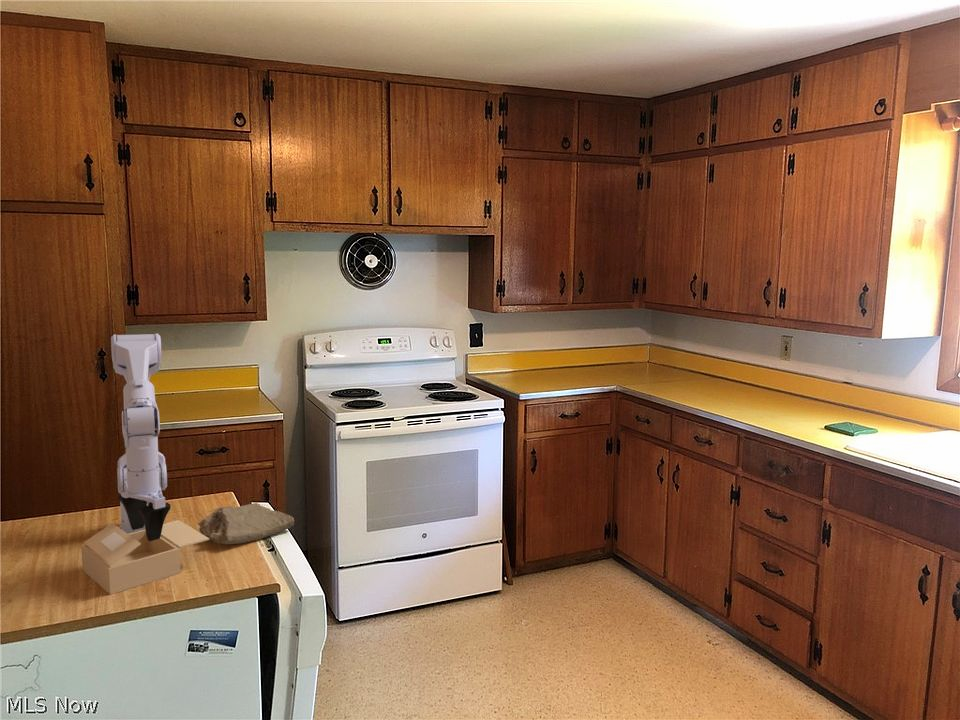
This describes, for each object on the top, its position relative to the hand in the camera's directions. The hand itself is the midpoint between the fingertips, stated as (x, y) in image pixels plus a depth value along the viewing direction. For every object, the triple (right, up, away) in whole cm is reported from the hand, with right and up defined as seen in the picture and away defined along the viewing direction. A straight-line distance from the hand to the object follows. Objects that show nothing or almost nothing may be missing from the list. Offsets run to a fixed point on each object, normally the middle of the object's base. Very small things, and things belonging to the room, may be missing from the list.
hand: (145, 533), depth 145 cm
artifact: (+13, -5, +19) cm, 24 cm away
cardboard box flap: (-4, -1, -4) cm, 6 cm away
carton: (0, -7, +1) cm, 7 cm away
